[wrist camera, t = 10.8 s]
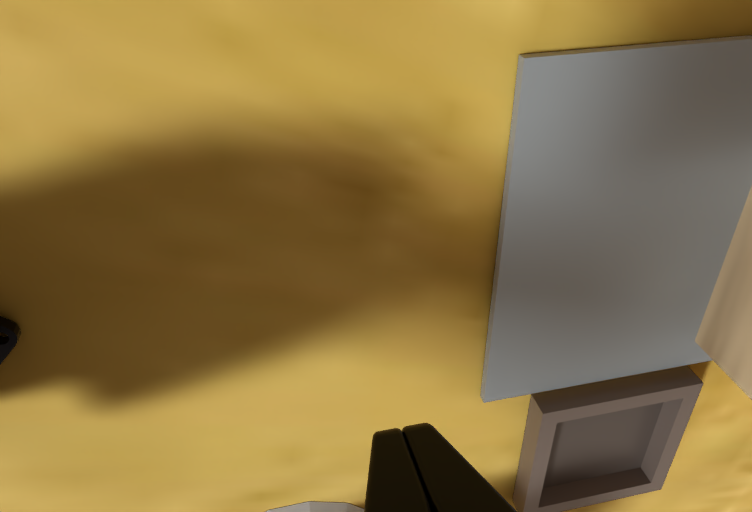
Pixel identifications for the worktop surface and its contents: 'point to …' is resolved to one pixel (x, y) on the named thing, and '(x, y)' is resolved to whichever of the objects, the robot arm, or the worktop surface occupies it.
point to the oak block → (732, 308)
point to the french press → (319, 507)
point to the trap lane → (613, 256)
